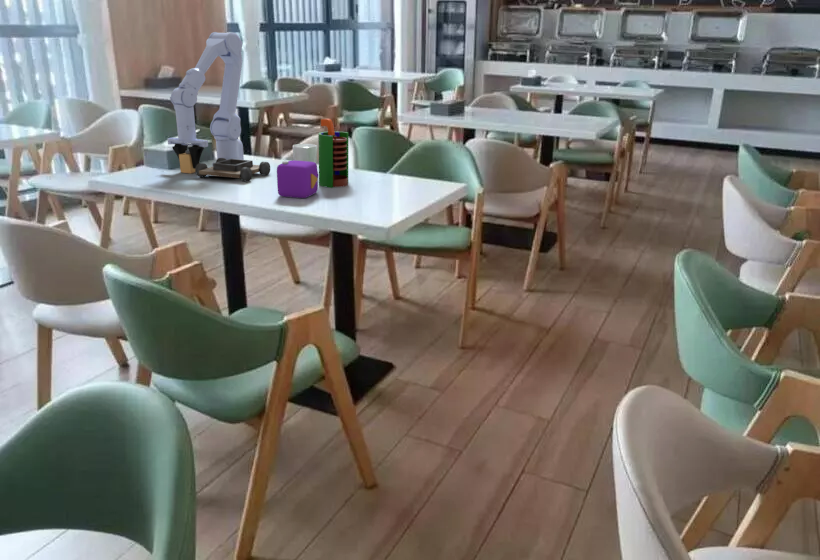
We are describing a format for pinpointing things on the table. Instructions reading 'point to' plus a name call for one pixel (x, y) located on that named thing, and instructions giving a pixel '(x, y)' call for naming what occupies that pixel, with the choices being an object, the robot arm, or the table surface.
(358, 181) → the table surface
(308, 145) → the white cup
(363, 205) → the table surface
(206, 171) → the chassis
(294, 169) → the purple arrow cube
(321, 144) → the motor
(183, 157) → the tan block with knob
